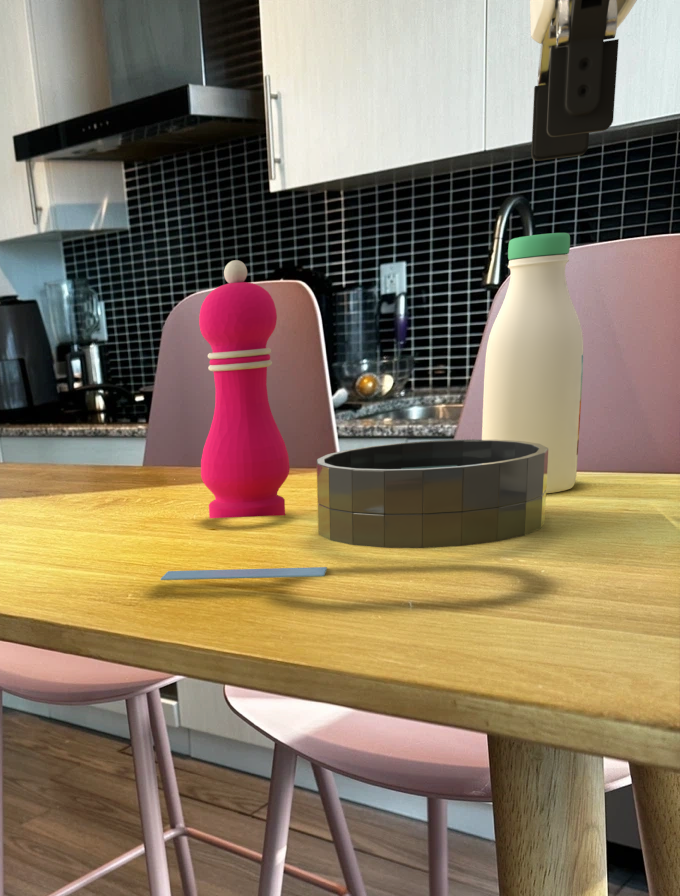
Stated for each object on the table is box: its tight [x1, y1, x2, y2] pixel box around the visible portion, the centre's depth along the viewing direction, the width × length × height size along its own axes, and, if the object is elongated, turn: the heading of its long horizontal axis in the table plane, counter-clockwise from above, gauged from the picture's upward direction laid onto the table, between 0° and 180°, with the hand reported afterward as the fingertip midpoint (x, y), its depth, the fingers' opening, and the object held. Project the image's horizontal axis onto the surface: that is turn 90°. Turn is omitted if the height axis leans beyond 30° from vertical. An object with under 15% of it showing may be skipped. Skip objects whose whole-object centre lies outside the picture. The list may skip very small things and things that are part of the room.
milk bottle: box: [481, 232, 584, 494], centre depth 85 cm, size 8×8×20 cm
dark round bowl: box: [315, 438, 549, 549], centre depth 72 cm, size 15×15×6 cm
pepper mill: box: [198, 259, 291, 519], centre depth 82 cm, size 7×7×20 cm
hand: (568, 146), depth 59 cm, fingers open, 9 cm apart
